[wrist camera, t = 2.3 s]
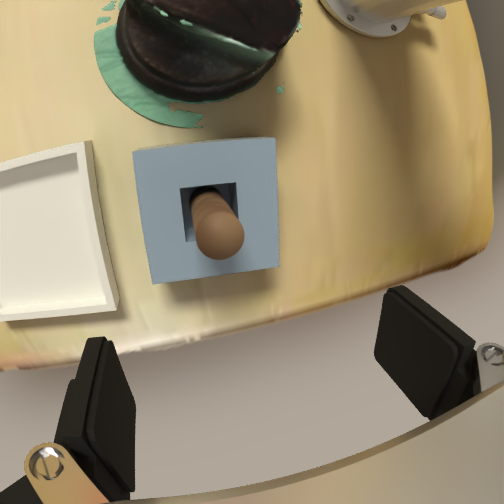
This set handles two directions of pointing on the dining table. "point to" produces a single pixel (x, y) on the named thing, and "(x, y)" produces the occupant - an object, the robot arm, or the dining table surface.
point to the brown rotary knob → (190, 51)
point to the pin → (215, 224)
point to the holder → (231, 188)
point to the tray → (53, 237)
